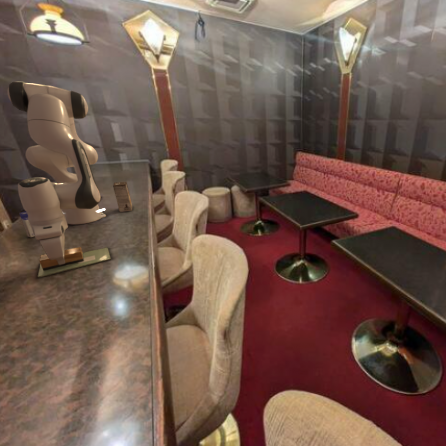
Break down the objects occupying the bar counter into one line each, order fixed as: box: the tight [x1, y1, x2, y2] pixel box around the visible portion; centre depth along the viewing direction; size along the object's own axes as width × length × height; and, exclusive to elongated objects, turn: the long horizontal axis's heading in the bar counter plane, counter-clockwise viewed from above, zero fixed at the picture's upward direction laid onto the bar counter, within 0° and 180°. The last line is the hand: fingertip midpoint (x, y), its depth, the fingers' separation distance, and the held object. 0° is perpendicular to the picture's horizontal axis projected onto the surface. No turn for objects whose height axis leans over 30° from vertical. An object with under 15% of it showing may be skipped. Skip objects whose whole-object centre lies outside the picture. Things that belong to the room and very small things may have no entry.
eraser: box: [39, 246, 84, 271], centre depth 90 cm, size 5×11×4 cm, turn 131°
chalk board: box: [37, 247, 112, 278], centre depth 93 cm, size 12×20×1 cm, turn 131°
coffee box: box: [112, 181, 133, 213], centre depth 147 cm, size 9×6×16 cm
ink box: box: [18, 210, 35, 238], centre depth 114 cm, size 12×2×12 cm, turn 168°
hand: (62, 260), depth 91 cm, fingers closed on eraser, 5 cm apart
